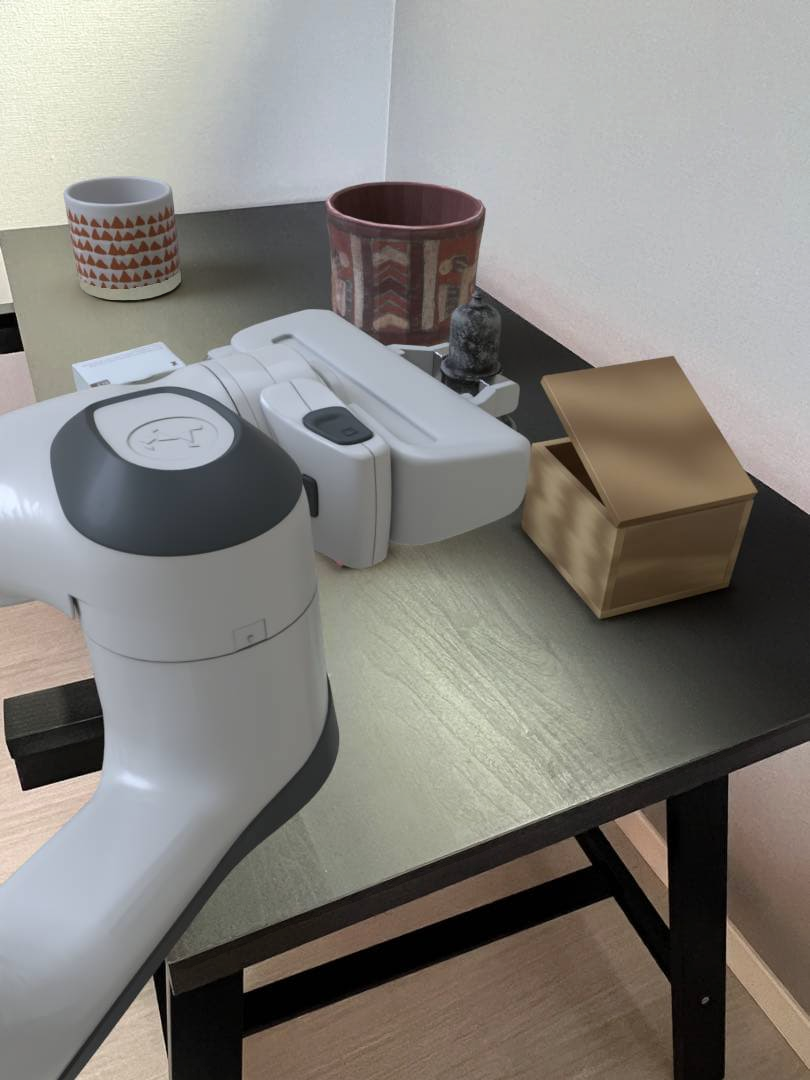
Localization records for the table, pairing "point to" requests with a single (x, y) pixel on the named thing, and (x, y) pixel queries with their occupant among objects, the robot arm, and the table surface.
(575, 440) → the bin lid
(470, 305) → the salt shaker
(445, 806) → the table surface
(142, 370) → the cosmetic box
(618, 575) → the bin
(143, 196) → the planter
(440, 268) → the pottery
